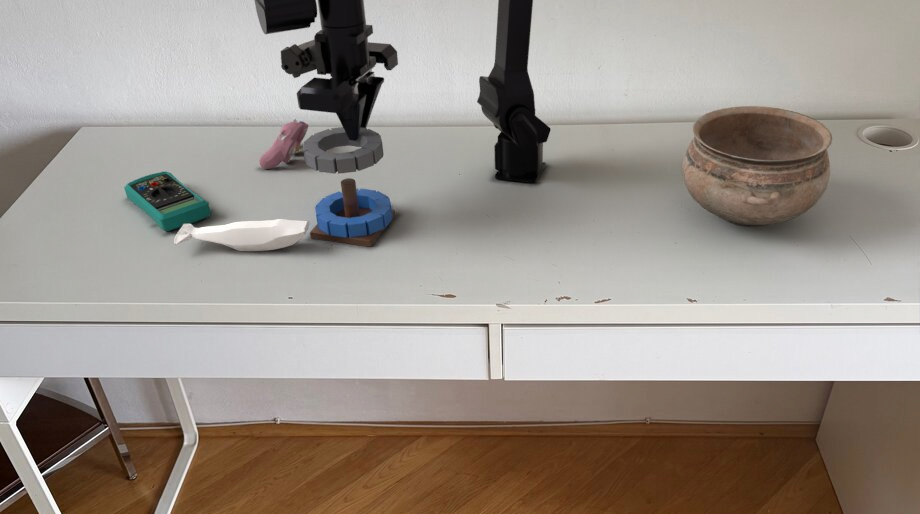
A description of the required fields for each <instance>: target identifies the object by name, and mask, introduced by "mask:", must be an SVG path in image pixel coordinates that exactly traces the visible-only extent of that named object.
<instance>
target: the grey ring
mask: <svg viewBox="0 0 920 514" xmlns="http://www.w3.org/2000/svg"><path fill="white" fill-rule="evenodd" d="M302 147H303V155H304V160H305V164H306V166H307V167H309V168H310V169H312V170H314V171H316V172H317V171H318V172H319V173H327V174H333V175H334V174H335V175H336V174H340V175H341V174H348V173H356V172H361V171H363V170H366V169H368V168H371V167H374V166H375V165H377V164H378V163H379V161H381V160H382V158H383V157H384V156H385V155H384V146H383V140H382V135H381V134H380V133H379V132H376V131H375V130H373V129H371V128H368V127H366V128H361V127H360V131H359V135H358V139H357V140H356V141H352V140H349V138H348V136H347V134H346V132H345V130H344V128H343V126H339V127H331V128H327V129H324V130H322V131H318V132H315V133H314V134H311V135H310V136H309V137H308V138H307V139H306V140H304V141H303V143H302ZM341 147H356V148H357V149H355V150H352V151H346V152H345V151H344V152H331V151H330V150H333V149H335V148H341Z"/></svg>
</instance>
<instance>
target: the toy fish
mask: <svg viewBox="0 0 920 514" xmlns="http://www.w3.org/2000/svg"><path fill="white" fill-rule="evenodd" d="M309 227H310V221H309V220H297V219H296V220H295V219H293V220H292V219H285V218H276V219H269V220H267V219H266V220H245V221H233V222H230V223H227V224H221V225H210V226H202V227H195V226H194V225H193V224H183V226H182V227H180V228H179V230H178V231H177V233H176V235H175V236H174V238H173V245H175V246H177V245H179V244H183V243H184V242H187V241H189V240H191V239H197V240H200V241H204V242H205V241H206V242H212V243H215V244H218V245H219V244H220V245H223V246H226V247H228V248H230V249H233V250H235V251H239V252H264V251H273V250H279V249H284V248H286V247H291V246H294V245H295V244H297V243H298V242H299V241H301V240H302V239H304V238H305V236H306V234H307V232H308V230H309Z"/></svg>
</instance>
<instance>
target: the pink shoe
mask: <svg viewBox="0 0 920 514" xmlns="http://www.w3.org/2000/svg"><path fill="white" fill-rule="evenodd" d="M308 129H309V124H308V123H306V122H305V121H302V120H297V119H296V118H294V119H293V120H292V121H290V122H287V123H286V124H284V125H282V126H281V129H280V131H279V134H278V135H277V137H276V139H275V140H274V142H273V143H272V145H271V146H270V147H269V149H267V150H266V151H265V152H264V153H263V154H262V155H261V156H260V158H259V160H258V161H259V166H260V168H262V169H265V170H269V169H274V168H276V167H277V166H279V165H280V164H281V163H285V164H288V163H289V162H290V160H291V158H292V156H294V155H296V154H297V152H300V149H301V147H300V146H301V143H302V142H303V140H304V139H305V137H306V135H307V132H308Z"/></svg>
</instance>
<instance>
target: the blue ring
mask: <svg viewBox="0 0 920 514" xmlns="http://www.w3.org/2000/svg"><path fill="white" fill-rule="evenodd" d="M356 190H357V198H358V205H359V207H361V208H368V209H371V210H373V211H372V212H370V213H368V214H366V215H363V216H360V217H352V218H346V217H339V216H336V215H335V214H336V213H337V212H340V211H342V210H344V203H343V196H342V191H335V192H334V193H331V194H329V195H326V196H325V197H323V198H322V199H320V200H319V202H318V203H316V204H315V207H314V210H315V211H314V212H315V218H316V223H317V224H318V227H319V229H320V230H322V231H323V232H325V233H327V234H328V235H330V234H331V236H338V237H345V238H347V237H348V236H349V237H350V238H352V237H359V236H367V233H368V234H369V235H370V234H373V233H375V232H377V231H379V230H382V229H384V227H386V226H387V225H388V226H389V225H390V224H391V222H392V221H393V220H392V218H393V216H392V209H393V208H392V207H393V206H392V203H391V199H390V197H389V196H388V195H386V194H384V193H383V192H381V191H379V190H376V189H367V188H360V189H359V188H356ZM393 219H394V218H393ZM391 220H392V221H391ZM390 221H391V222H390ZM317 224H316V225H317ZM388 226H387V227H388ZM387 227H386V228H387ZM384 230H385V229H384Z"/></svg>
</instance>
